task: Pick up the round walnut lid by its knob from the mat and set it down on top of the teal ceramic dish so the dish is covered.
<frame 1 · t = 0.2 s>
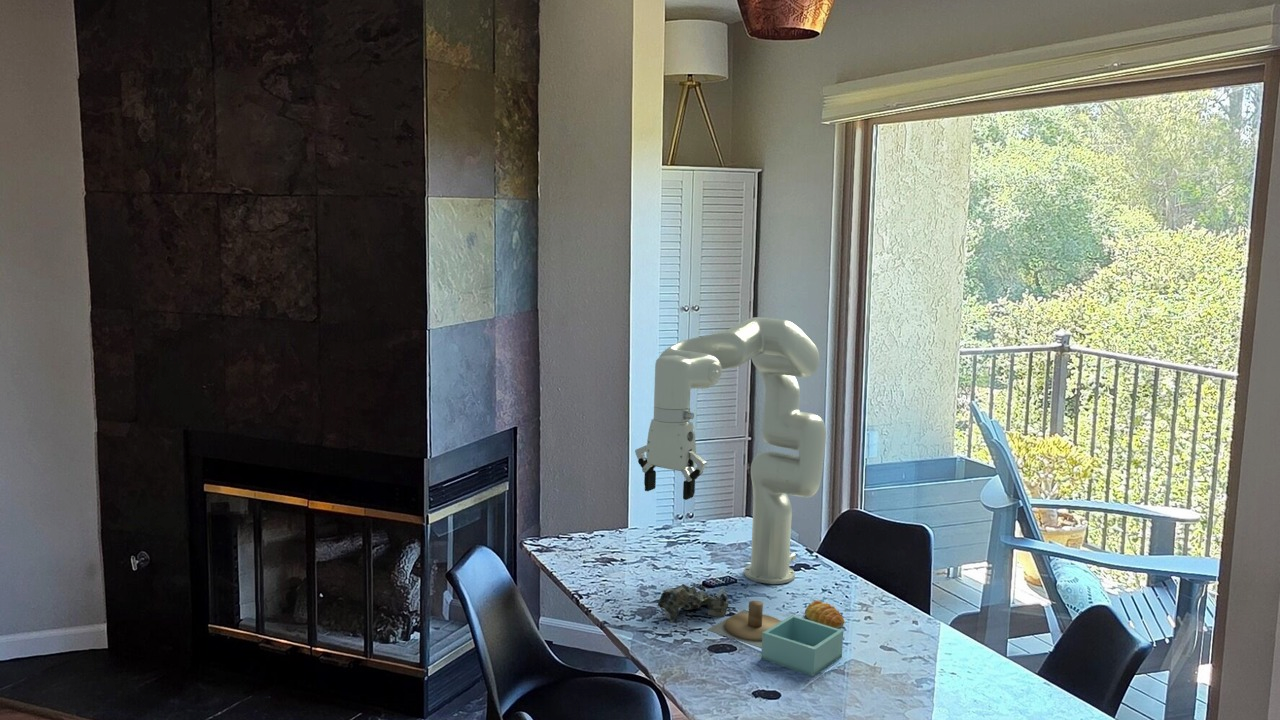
hand: (668, 494, 218), 31 cm above the table, fingers open, 9 cm apart
mat: (754, 630, 225), on the table
pastry: (824, 622, 231), on the table
mottled brown rock: (693, 617, 232), on the table
lid: (754, 628, 225), resting on mat
dish: (801, 659, 211), on the table
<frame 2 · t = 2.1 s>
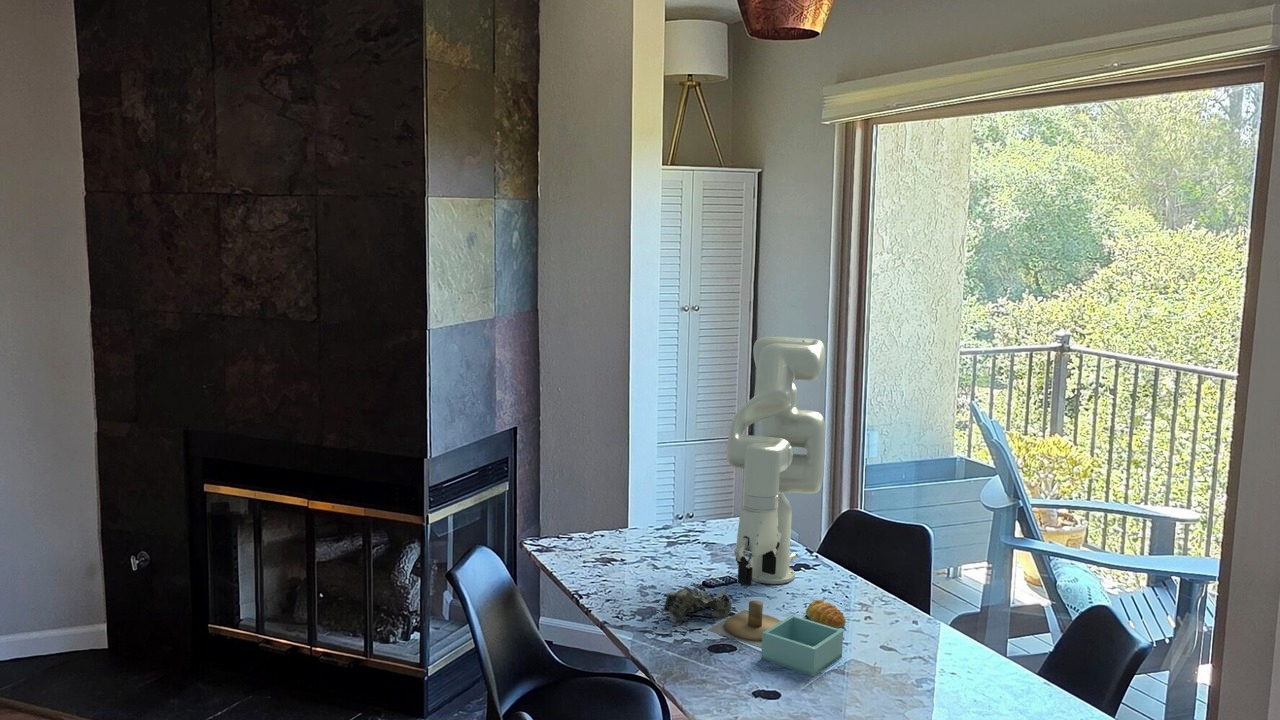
hand: (756, 578, 222), 12 cm above the table, fingers open, 9 cm apart
mottled brown rock: (697, 619, 231), on the table
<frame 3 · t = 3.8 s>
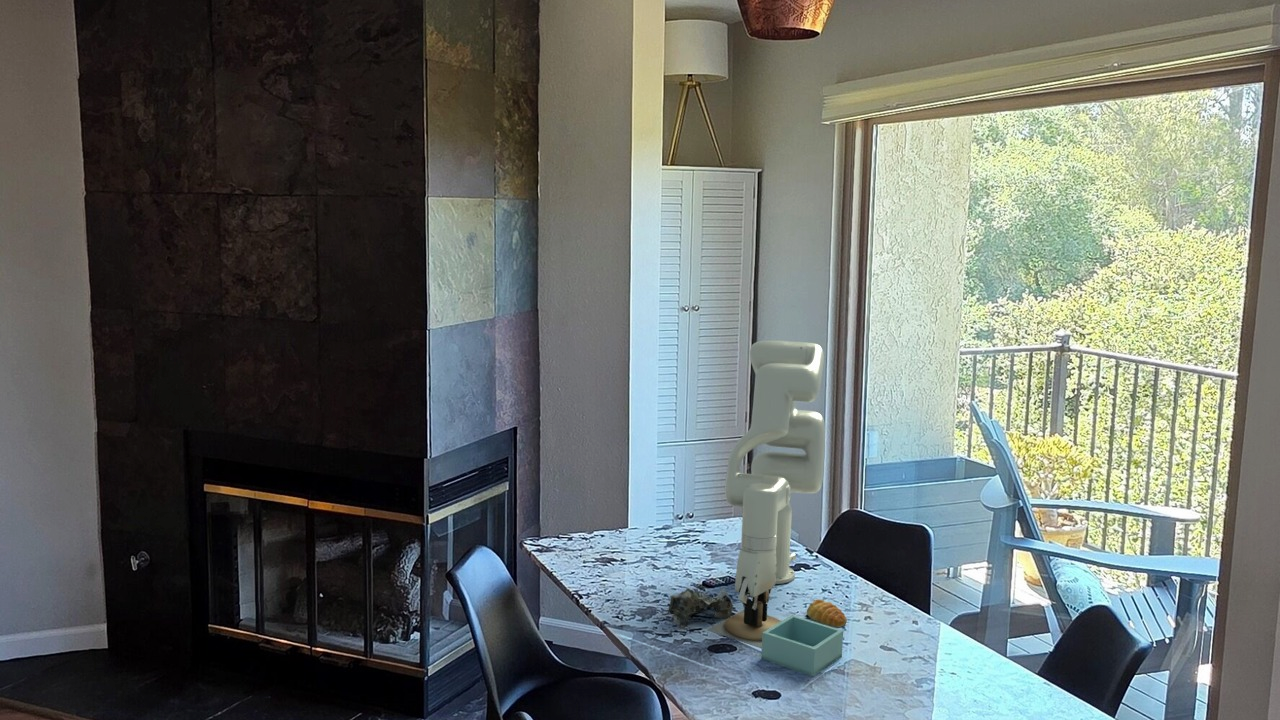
hand: (755, 621, 225), 2 cm above the table, fingers closed on lid, 3 cm apart
lid: (754, 628, 225), resting on mat, touching gripper
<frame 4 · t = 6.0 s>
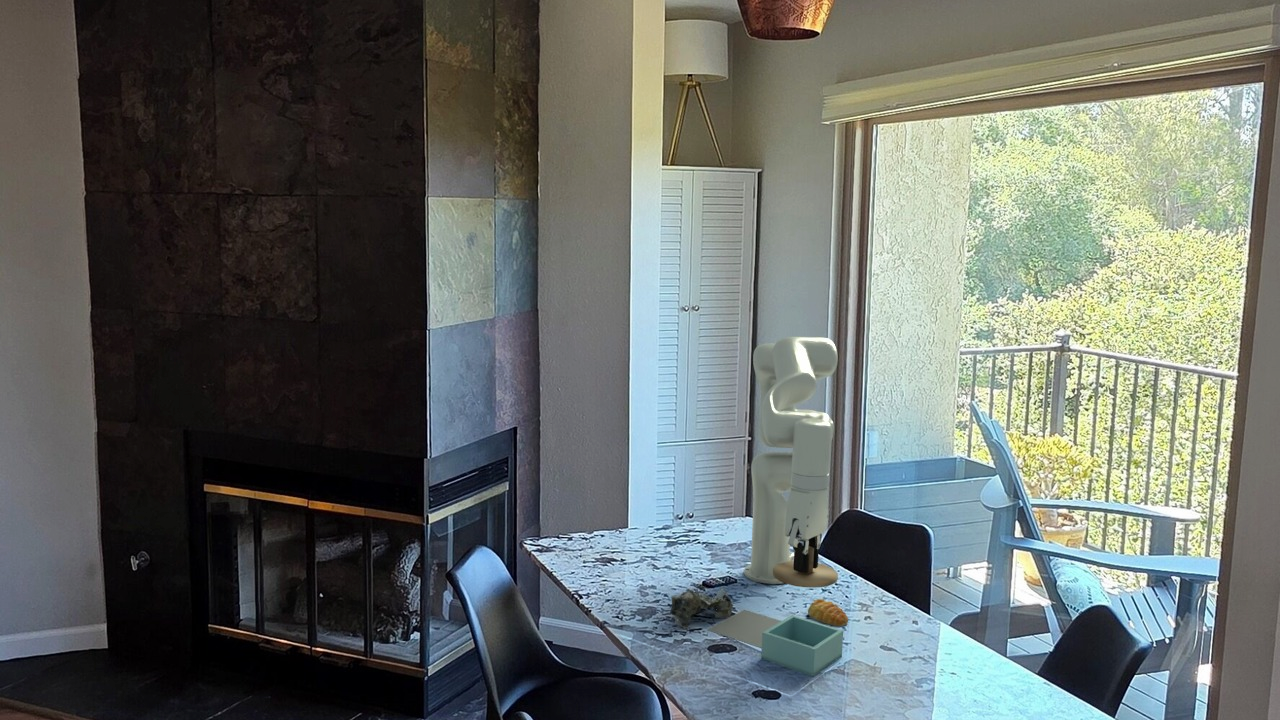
hand: (805, 568, 208), 19 cm above the table, fingers closed on lid, 3 cm apart
lid: (805, 575, 209), point 18 cm above the table, touching gripper
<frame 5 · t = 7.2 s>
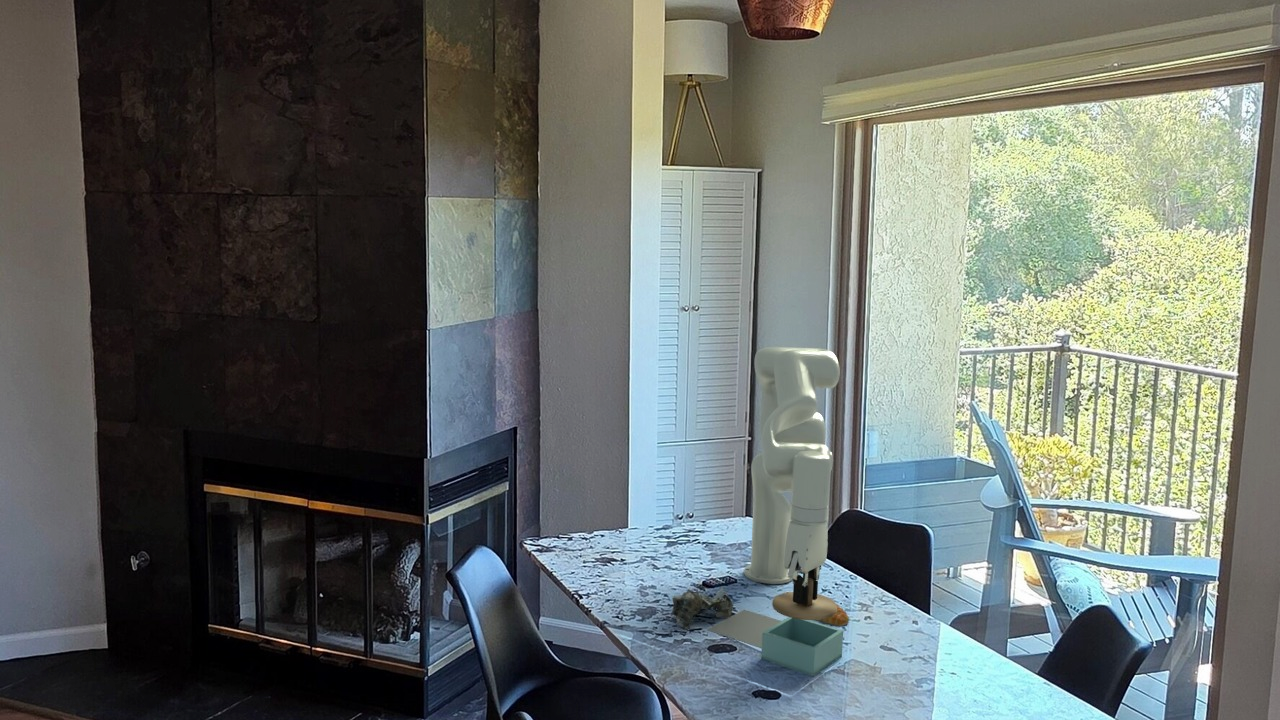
hand: (804, 600, 209), 13 cm above the table, fingers closed on lid, 3 cm apart
lid: (804, 607, 209), point 11 cm above the table, touching gripper
when the fingers open (9 cm above the table, at t = 8.2 s): lid drops 1 cm, resting on dish.
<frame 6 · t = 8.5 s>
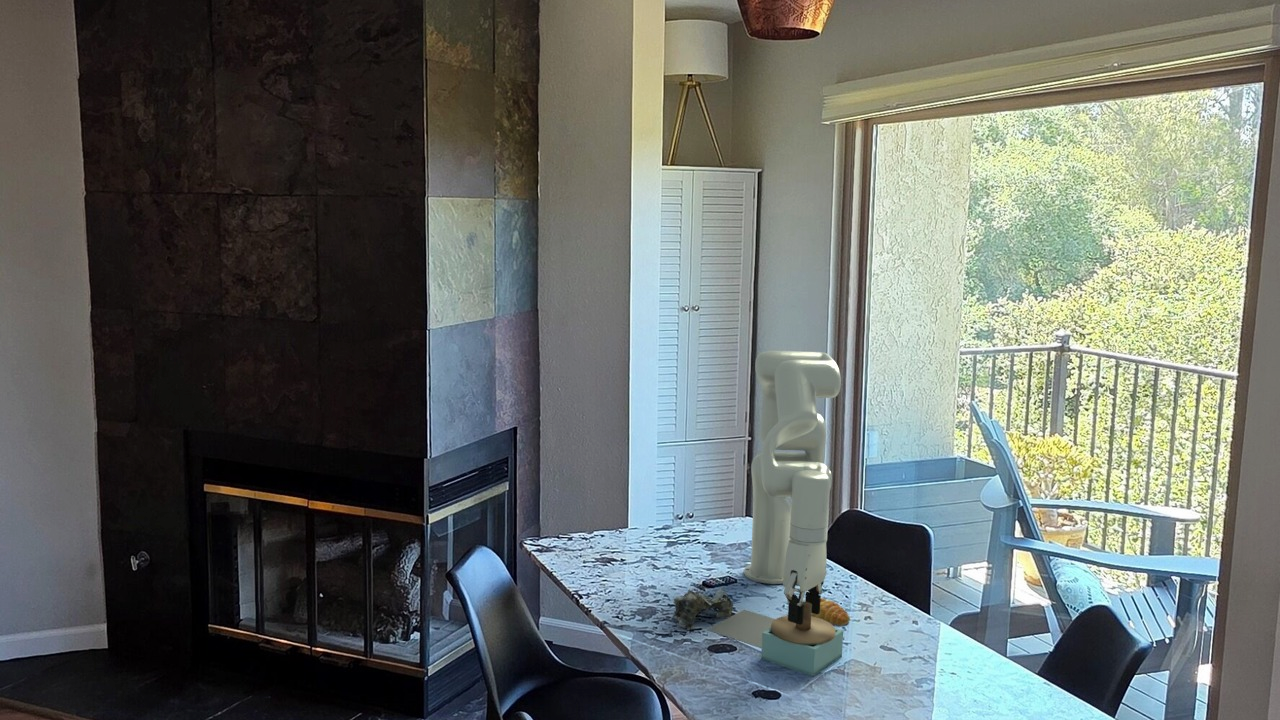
hand: (803, 616, 210), 9 cm above the table, fingers open, 6 cm apart
lid: (803, 631, 210), point 6 cm above the table, touching dish
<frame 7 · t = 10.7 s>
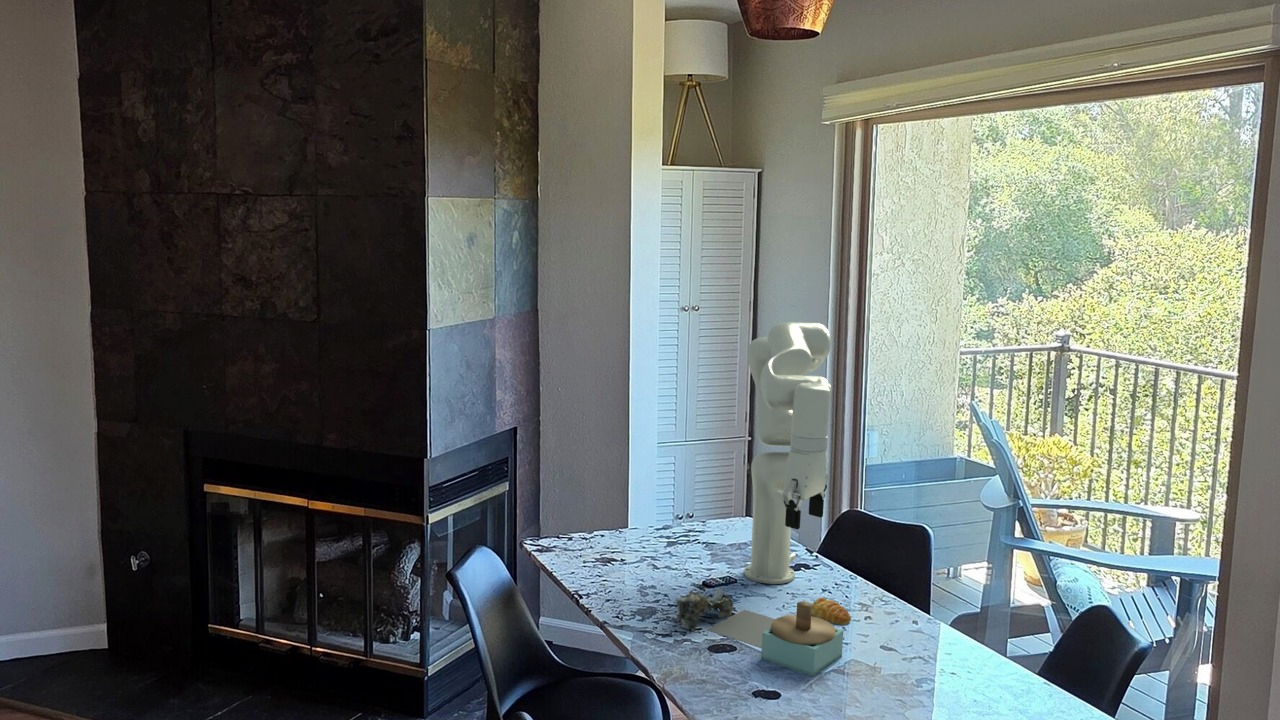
hand: (804, 521, 216), 26 cm above the table, fingers open, 9 cm apart
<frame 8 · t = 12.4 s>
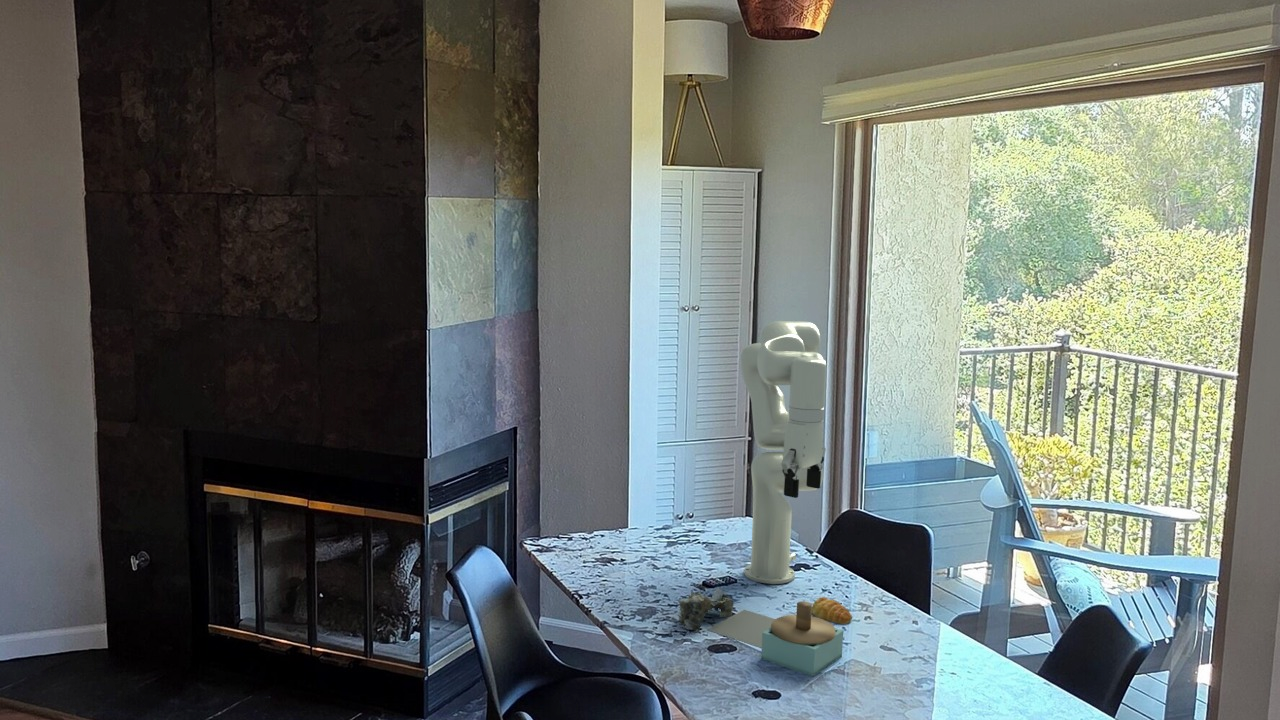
hand: (802, 491, 224), 30 cm above the table, fingers open, 9 cm apart
at the end: lid 0.1 cm off-centre on the dish, point 6.0 cm above the dish's base; lid tilted 0°; the gripper is holding nothing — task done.
